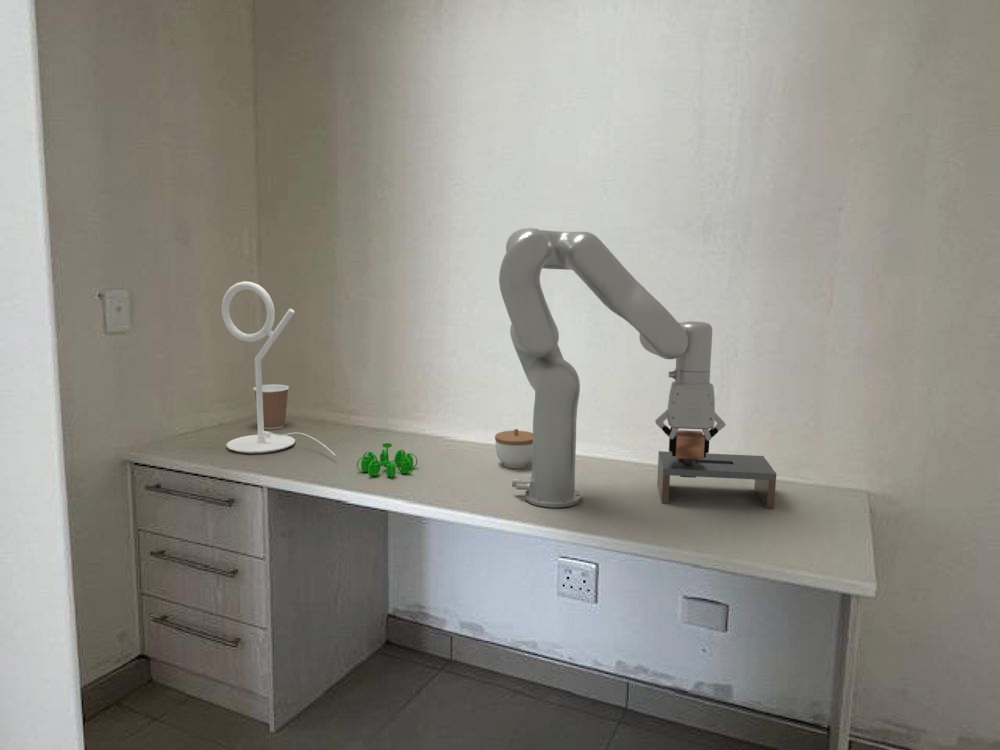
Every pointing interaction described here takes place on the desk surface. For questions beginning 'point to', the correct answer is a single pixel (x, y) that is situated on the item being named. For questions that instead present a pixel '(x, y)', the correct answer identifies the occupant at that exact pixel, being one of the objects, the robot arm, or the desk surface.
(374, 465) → the chandelier
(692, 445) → the headed peg
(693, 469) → the keyhole stand
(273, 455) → the desk surface
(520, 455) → the lidded jar
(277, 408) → the coffee cup
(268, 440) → the desk lamp
